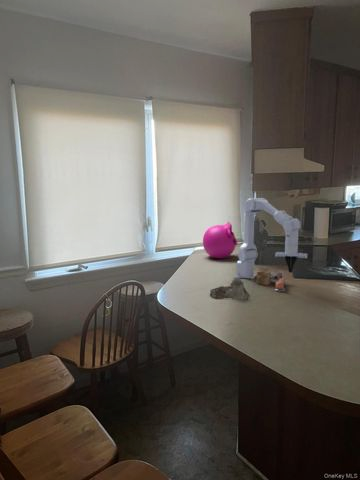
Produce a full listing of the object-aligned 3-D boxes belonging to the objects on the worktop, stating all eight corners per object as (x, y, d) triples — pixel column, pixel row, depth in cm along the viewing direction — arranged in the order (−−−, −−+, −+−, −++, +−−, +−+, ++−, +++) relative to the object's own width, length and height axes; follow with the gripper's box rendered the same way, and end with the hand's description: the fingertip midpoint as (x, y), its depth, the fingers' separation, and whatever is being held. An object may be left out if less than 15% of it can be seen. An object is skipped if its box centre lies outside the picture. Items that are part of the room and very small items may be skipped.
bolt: (259, 282, 180) (259, 271, 180) (260, 280, 184) (260, 269, 183) (282, 284, 176) (282, 273, 176) (282, 282, 180) (283, 271, 179)
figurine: (239, 261, 233) (240, 224, 229) (203, 261, 233) (203, 224, 229) (234, 254, 256) (235, 220, 252) (202, 254, 256) (202, 220, 252)
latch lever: (275, 289, 166) (275, 283, 166) (277, 283, 176) (277, 277, 175) (283, 289, 165) (283, 283, 164) (284, 284, 175) (285, 278, 174)
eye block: (256, 283, 179) (257, 271, 178) (258, 279, 186) (259, 268, 185) (268, 284, 177) (269, 272, 176) (270, 280, 184) (270, 269, 183)
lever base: (273, 291, 166) (273, 289, 166) (274, 288, 171) (274, 286, 171) (284, 292, 164) (284, 290, 164) (285, 289, 169) (285, 287, 169)
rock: (248, 291, 165) (248, 274, 160) (250, 305, 156) (250, 288, 151) (210, 292, 168) (209, 276, 163) (210, 307, 159) (208, 290, 154)
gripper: (275, 244, 165) (274, 272, 167) (307, 246, 160) (306, 274, 162) (276, 242, 171) (275, 269, 174) (307, 243, 166) (306, 271, 168)
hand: (290, 271), depth 168 cm, fingers closed
